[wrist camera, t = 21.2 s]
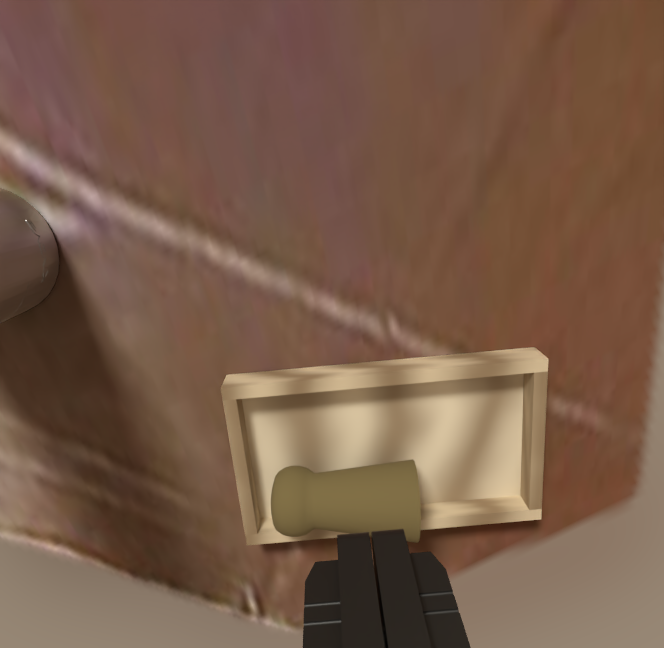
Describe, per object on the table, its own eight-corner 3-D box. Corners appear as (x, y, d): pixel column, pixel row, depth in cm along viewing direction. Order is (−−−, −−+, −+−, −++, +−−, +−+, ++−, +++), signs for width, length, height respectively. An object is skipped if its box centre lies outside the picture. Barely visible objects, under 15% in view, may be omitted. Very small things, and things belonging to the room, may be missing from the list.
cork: (415, 447, 38) (269, 448, 38) (423, 532, 34) (263, 533, 34) (408, 473, 43) (279, 474, 43) (414, 550, 39) (274, 550, 39)
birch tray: (250, 524, 43) (246, 545, 41) (226, 374, 39) (220, 388, 36) (528, 499, 43) (541, 519, 40) (534, 347, 39) (548, 358, 36)
